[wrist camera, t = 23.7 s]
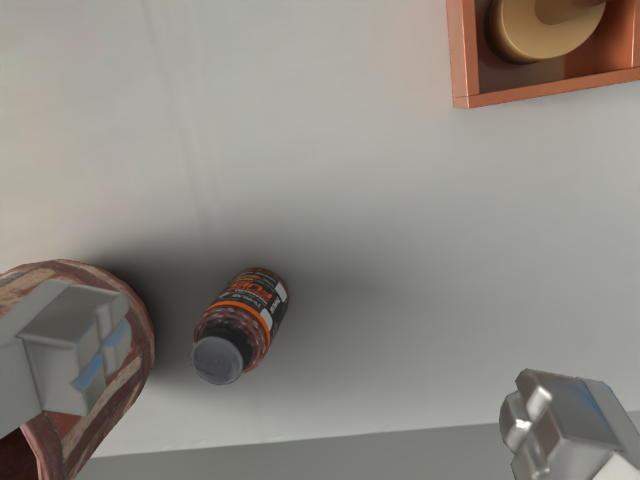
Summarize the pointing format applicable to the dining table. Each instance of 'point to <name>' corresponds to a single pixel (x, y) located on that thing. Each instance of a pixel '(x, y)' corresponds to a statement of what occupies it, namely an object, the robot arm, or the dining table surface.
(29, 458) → the pottery
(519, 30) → the brush
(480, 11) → the caddy
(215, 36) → the dining table surface
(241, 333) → the supplement bottle
